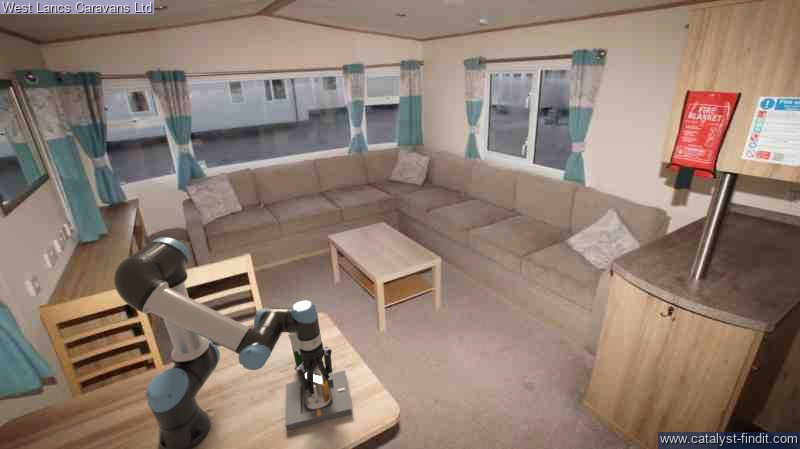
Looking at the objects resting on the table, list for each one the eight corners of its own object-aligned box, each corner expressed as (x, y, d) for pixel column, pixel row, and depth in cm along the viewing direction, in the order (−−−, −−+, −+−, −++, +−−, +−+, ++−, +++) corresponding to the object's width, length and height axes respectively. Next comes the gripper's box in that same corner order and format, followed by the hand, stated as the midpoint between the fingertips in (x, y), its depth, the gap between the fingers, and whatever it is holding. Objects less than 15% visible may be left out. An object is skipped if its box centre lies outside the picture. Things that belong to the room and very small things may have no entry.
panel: (286, 430, 127) (285, 424, 125) (287, 388, 143) (286, 383, 141) (352, 413, 131) (351, 407, 130) (345, 375, 147) (344, 369, 146)
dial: (298, 405, 135) (293, 384, 130) (315, 385, 143) (311, 363, 138) (321, 415, 131) (316, 393, 126) (337, 393, 139) (334, 372, 134)
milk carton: (299, 355, 158) (291, 316, 150) (321, 355, 158) (314, 316, 150) (294, 371, 150) (285, 331, 142) (316, 371, 150) (309, 331, 142)
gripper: (294, 363, 117) (306, 415, 127) (337, 335, 127) (345, 385, 137) (281, 351, 122) (294, 403, 132) (324, 325, 132) (333, 375, 142)
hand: (320, 394), depth 135 cm, fingers closed on dial, 4 cm apart
